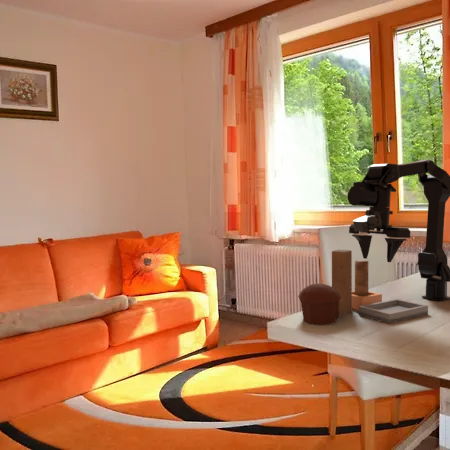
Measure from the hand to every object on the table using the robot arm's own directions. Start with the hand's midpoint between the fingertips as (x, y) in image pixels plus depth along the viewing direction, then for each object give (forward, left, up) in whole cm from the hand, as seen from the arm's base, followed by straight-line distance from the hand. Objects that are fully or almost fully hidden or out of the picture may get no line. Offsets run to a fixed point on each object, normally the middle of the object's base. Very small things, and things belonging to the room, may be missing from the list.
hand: (376, 260), depth 150 cm
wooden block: (+11, -4, -15) cm, 19 cm away
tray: (0, +6, -15) cm, 16 cm away
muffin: (+21, -1, -15) cm, 26 cm away
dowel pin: (0, -6, -15) cm, 16 cm away
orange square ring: (0, -6, -15) cm, 16 cm away
